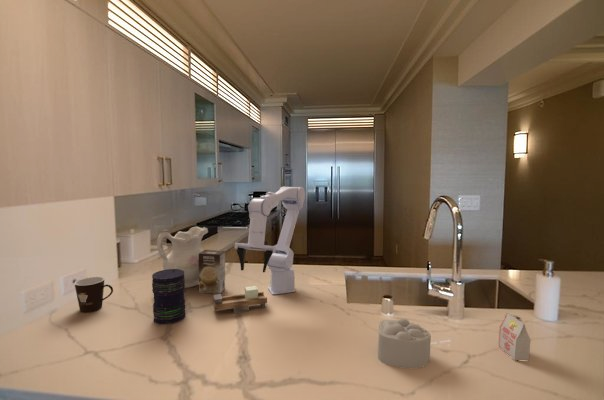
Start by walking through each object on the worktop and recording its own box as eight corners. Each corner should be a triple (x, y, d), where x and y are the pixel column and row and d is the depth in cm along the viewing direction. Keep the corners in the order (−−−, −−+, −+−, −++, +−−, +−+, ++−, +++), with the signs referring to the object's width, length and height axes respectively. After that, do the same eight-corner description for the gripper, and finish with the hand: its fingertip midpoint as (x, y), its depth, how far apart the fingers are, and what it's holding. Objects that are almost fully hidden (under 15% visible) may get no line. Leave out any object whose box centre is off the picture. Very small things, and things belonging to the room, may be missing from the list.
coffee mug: (70, 310, 107) (69, 282, 106) (97, 301, 115) (95, 275, 114) (89, 318, 102) (88, 288, 101) (116, 308, 109) (114, 280, 108)
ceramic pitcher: (177, 299, 120) (179, 236, 117) (146, 285, 130) (147, 227, 127) (218, 283, 138) (221, 228, 135) (189, 272, 148) (191, 220, 145)
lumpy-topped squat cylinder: (378, 342, 89) (379, 313, 89) (427, 349, 86) (428, 319, 85) (377, 363, 80) (378, 331, 79) (432, 373, 76) (433, 339, 75)
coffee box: (198, 292, 124) (197, 253, 123) (204, 287, 130) (204, 249, 129) (220, 294, 123) (219, 254, 122) (225, 288, 129) (225, 250, 128)
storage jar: (174, 326, 97) (172, 279, 96) (146, 323, 99) (144, 277, 98) (191, 312, 107) (190, 270, 105) (165, 309, 109) (164, 267, 107)
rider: (255, 295, 114) (255, 285, 113) (258, 299, 110) (258, 289, 110) (244, 297, 112) (244, 287, 112) (246, 301, 109) (246, 290, 108)
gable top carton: (511, 347, 88) (514, 312, 87) (528, 361, 81) (531, 324, 80) (498, 346, 88) (500, 312, 87) (514, 361, 81) (517, 324, 80)
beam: (263, 301, 116) (263, 287, 116) (267, 308, 110) (267, 293, 110) (213, 308, 110) (212, 294, 109) (214, 316, 104) (214, 300, 104)
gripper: (234, 230, 107) (230, 270, 106) (276, 234, 107) (272, 274, 106) (238, 230, 114) (234, 267, 113) (277, 233, 114) (274, 271, 113)
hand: (253, 270), depth 110 cm, fingers open, 7 cm apart
